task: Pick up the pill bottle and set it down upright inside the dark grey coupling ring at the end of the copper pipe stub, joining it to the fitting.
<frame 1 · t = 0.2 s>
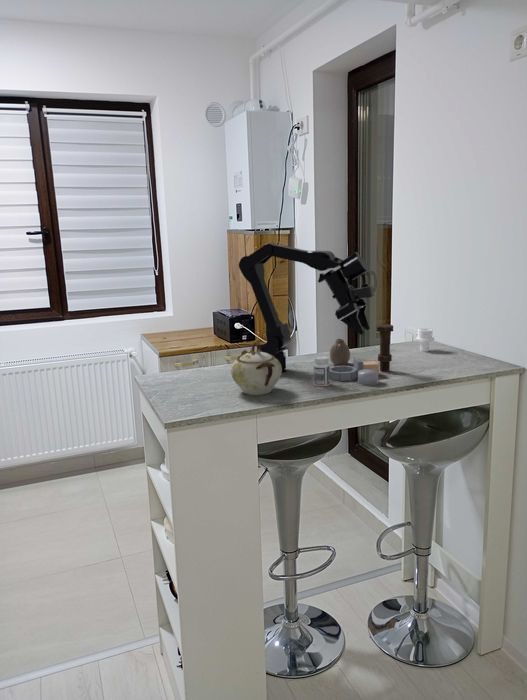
hand: (365, 331, 182), 15 cm above the counter, tool tilted 30°, fingers open, 9 cm apart
vase: (339, 365, 202), on the counter
sugar bowl: (257, 391, 174), on the counter
coupling: (342, 376, 187), on the counter
wide fitting: (367, 382, 179), on the counter
pipe fitting: (424, 351, 218), on the counter
pill bottle: (321, 385, 179), on the counter
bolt: (384, 371, 192), on the counter
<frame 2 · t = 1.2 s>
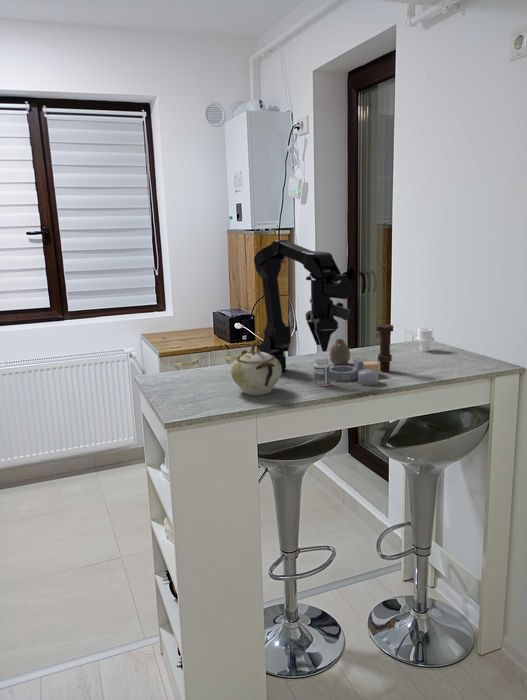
hand: (321, 348, 177), 11 cm above the counter, tool pointing down, fingers open, 9 cm apart
nothing on the counter moved.
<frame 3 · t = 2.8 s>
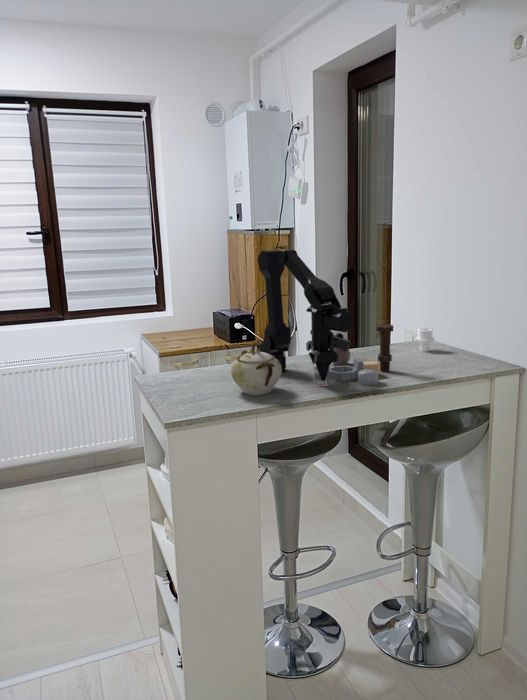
hand: (321, 378, 179), 2 cm above the counter, tool pointing down, fingers closed on pill bottle, 5 cm apart
pill bottle: (321, 385, 179), on the counter, touching gripper
everything else where it was.
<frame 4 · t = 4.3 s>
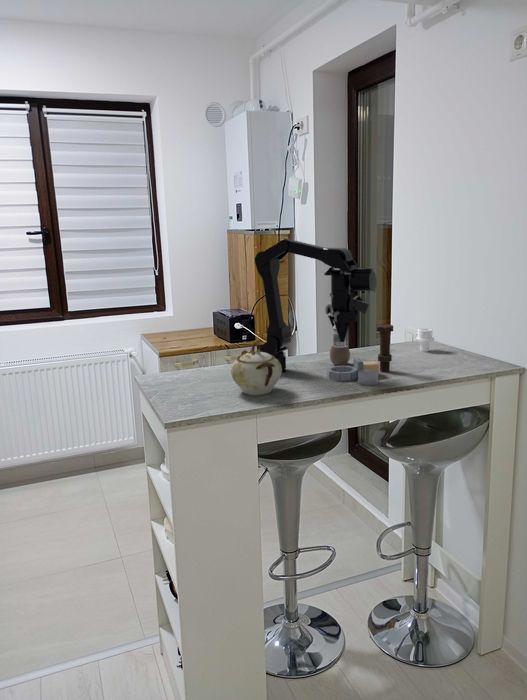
hand: (340, 340, 183), 12 cm above the counter, tool pointing down, fingers closed on pill bottle, 5 cm apart
pill bottle: (340, 346, 184), point 10 cm above the counter, touching gripper
everything else where it was.
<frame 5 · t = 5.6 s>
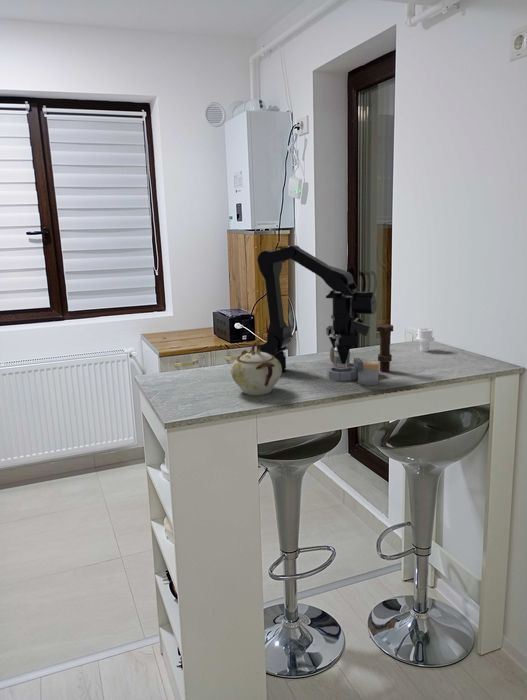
hand: (341, 361, 186), 5 cm above the counter, tool pointing down, fingers closed on pill bottle, 5 cm apart
pill bottle: (341, 368, 186), point 3 cm above the counter, touching gripper
everything else where it was.
when the fingers open (3 cm above the counter, at t = 6.3 s): pill bottle drops 1 cm, resting in coupling.
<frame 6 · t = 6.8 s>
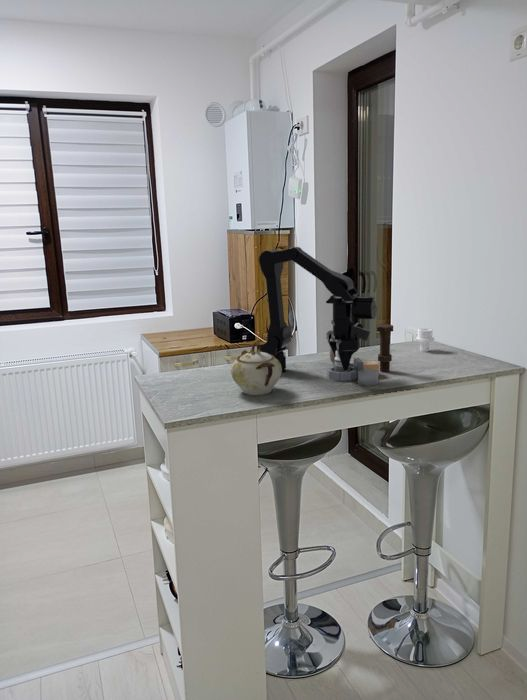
hand: (342, 366, 186), 3 cm above the counter, tool pointing down, fingers open, 9 cm apart
pill bottle: (342, 377, 187), resting in coupling
everything else where it was.
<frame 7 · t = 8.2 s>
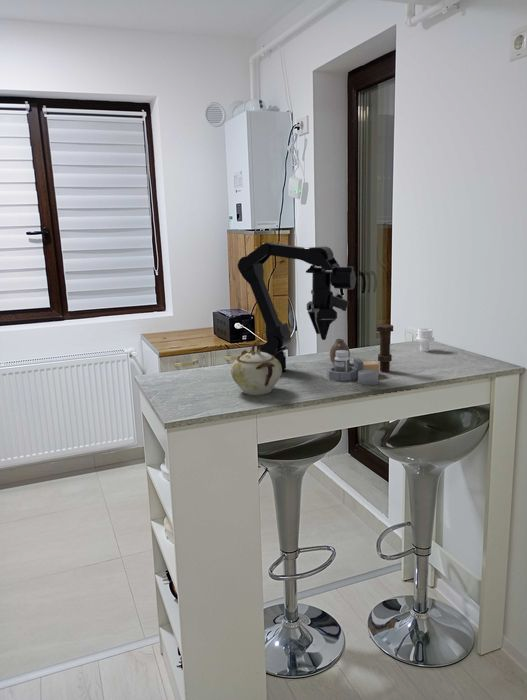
hand: (320, 336, 187), 12 cm above the counter, tool pointing down, fingers open, 9 cm apart
nothing on the counter moved.
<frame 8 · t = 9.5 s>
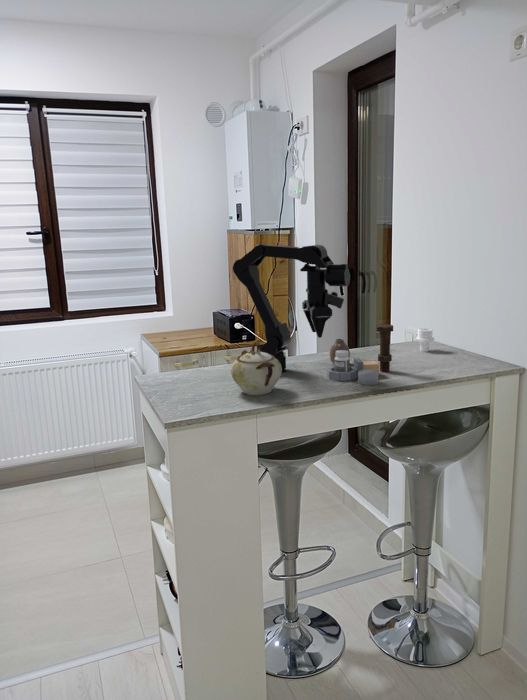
hand: (316, 334, 188), 13 cm above the counter, tool pointing down, fingers open, 9 cm apart
nothing on the counter moved.
at the end: pill bottle 0.0 cm from the coupling (horizontally); pill bottle tilted 0°; pill bottle resting in coupling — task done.
